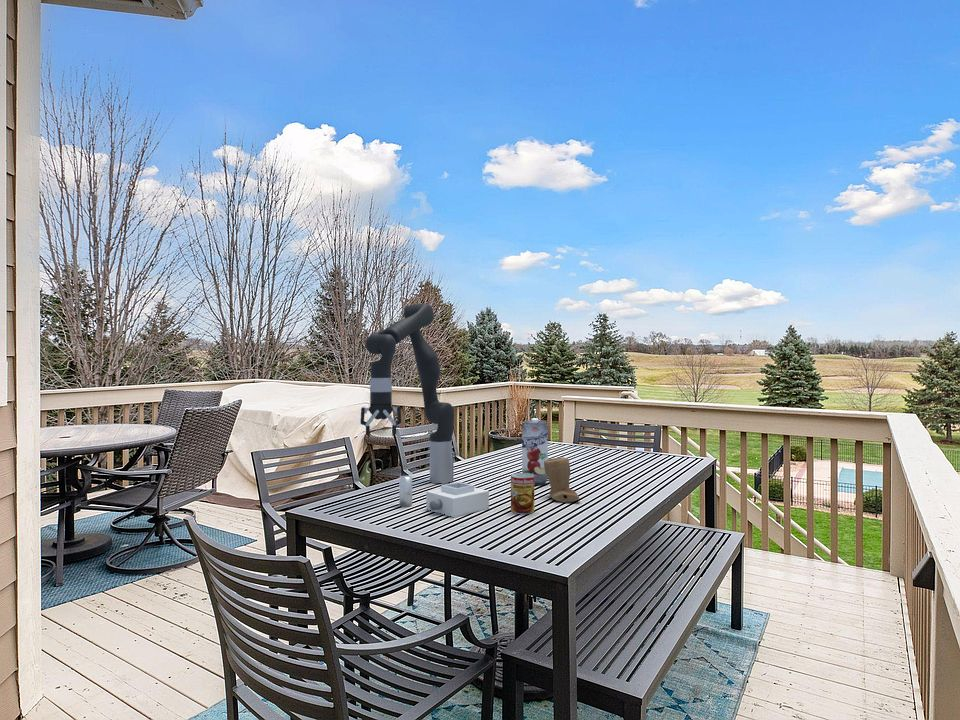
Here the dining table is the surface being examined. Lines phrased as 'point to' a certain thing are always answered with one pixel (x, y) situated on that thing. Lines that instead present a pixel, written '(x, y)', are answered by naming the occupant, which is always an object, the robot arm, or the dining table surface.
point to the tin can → (405, 491)
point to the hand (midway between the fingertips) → (381, 436)
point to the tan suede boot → (559, 479)
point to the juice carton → (535, 449)
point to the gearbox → (457, 499)
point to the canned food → (522, 493)
